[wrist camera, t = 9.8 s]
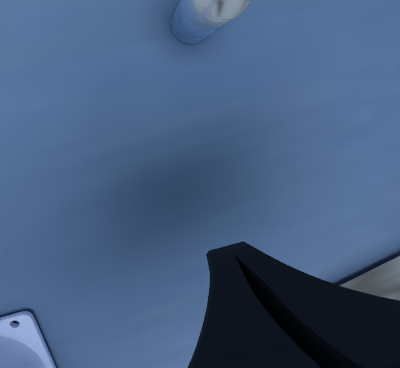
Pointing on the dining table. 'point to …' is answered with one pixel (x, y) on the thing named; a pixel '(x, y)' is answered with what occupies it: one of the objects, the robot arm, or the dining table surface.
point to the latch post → (203, 17)
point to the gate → (379, 280)
